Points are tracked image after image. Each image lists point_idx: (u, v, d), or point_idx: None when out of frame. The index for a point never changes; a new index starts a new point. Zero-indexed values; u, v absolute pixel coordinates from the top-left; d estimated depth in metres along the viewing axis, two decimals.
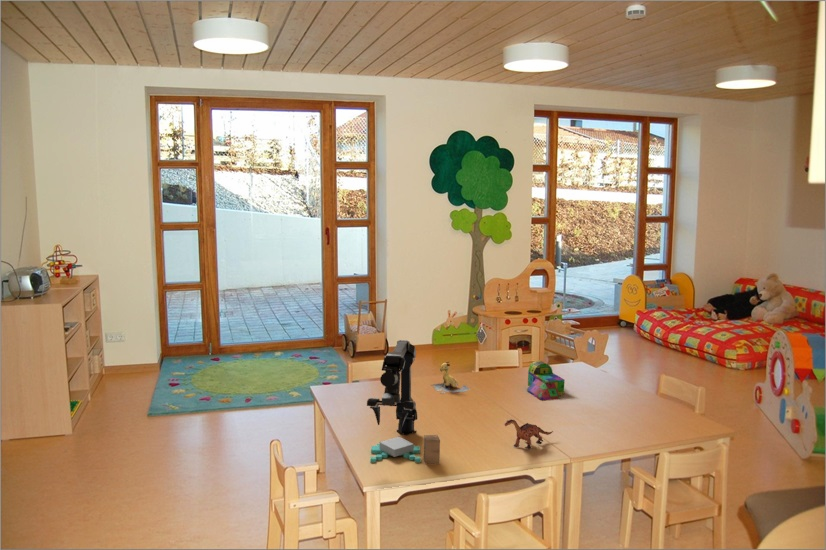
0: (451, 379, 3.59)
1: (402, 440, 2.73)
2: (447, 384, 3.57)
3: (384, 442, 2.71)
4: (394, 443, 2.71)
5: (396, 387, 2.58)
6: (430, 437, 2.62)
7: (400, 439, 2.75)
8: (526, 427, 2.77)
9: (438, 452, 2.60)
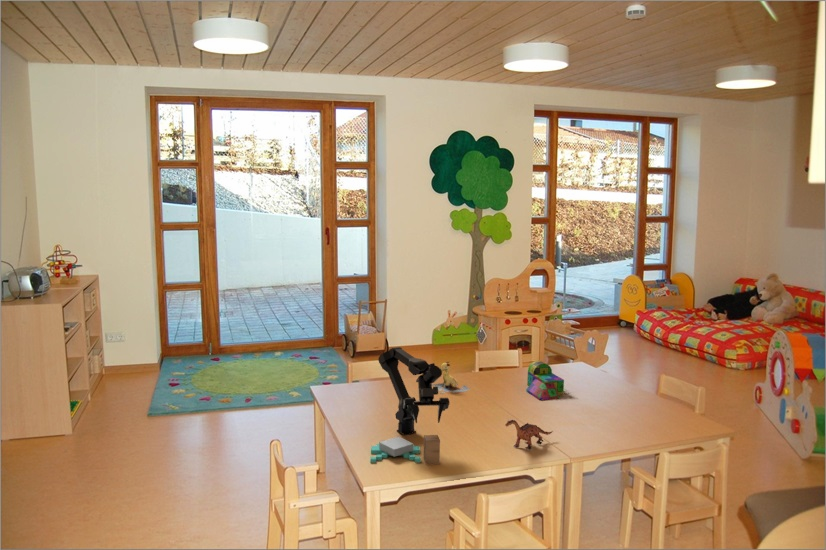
0: (451, 379, 3.59)
1: (402, 440, 2.73)
2: (447, 384, 3.58)
3: (384, 442, 2.71)
4: (394, 442, 2.70)
5: (430, 386, 2.77)
6: (430, 437, 2.62)
7: (400, 439, 2.74)
8: (526, 427, 2.77)
9: (438, 452, 2.60)
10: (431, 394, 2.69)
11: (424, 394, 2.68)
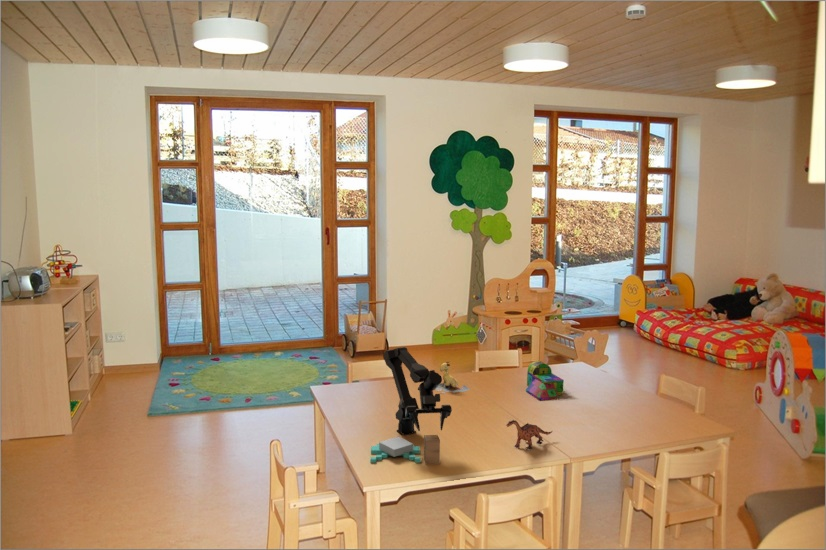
0: (451, 379, 3.59)
1: (402, 440, 2.73)
2: (447, 384, 3.58)
3: (384, 442, 2.71)
4: (394, 443, 2.70)
5: (432, 394, 2.74)
6: (430, 437, 2.62)
7: (400, 439, 2.74)
8: (527, 427, 2.77)
9: (438, 452, 2.60)
10: (433, 401, 2.66)
11: (426, 401, 2.66)
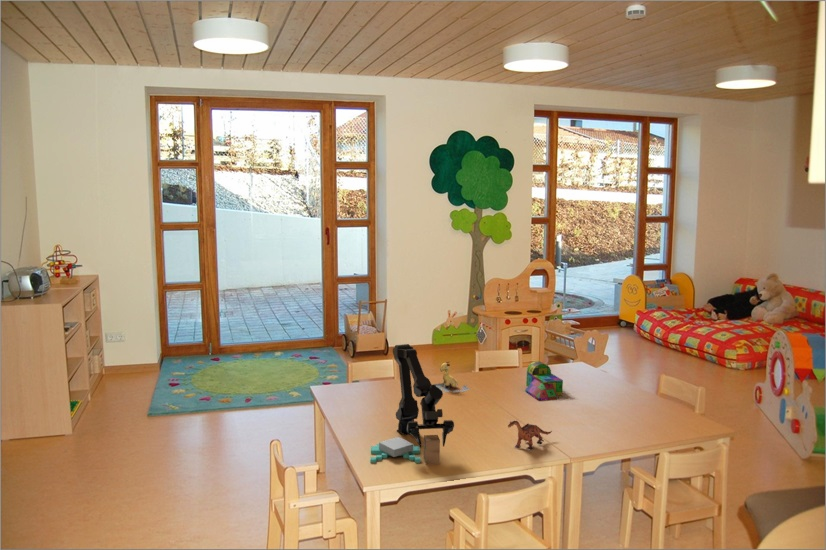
0: (451, 379, 3.59)
1: (402, 440, 2.73)
2: (447, 384, 3.58)
3: (384, 442, 2.71)
4: (394, 443, 2.70)
5: (434, 409, 2.69)
6: (430, 437, 2.62)
7: (400, 439, 2.74)
8: (528, 428, 2.77)
9: (438, 452, 2.60)
10: (435, 417, 2.61)
11: (428, 417, 2.60)
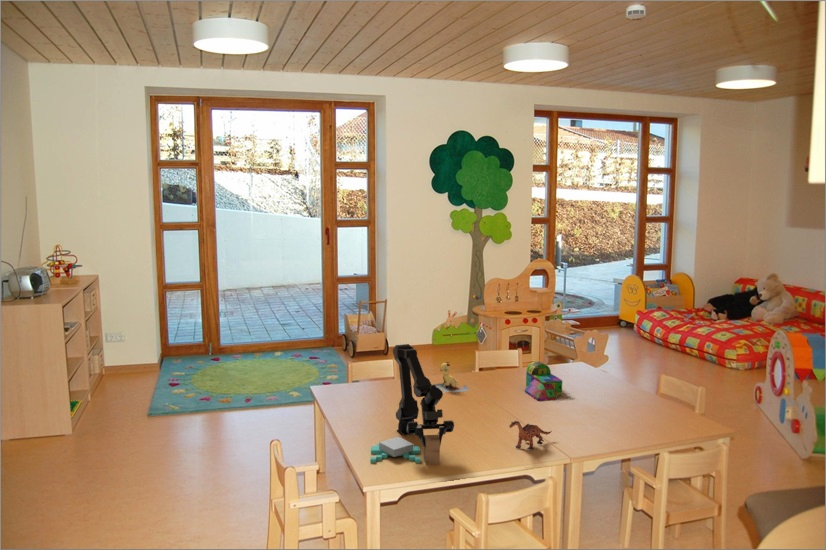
0: (451, 379, 3.59)
1: (402, 440, 2.73)
2: (447, 384, 3.58)
3: (384, 442, 2.71)
4: (394, 443, 2.70)
5: (434, 409, 2.69)
6: (430, 437, 2.62)
7: (400, 439, 2.74)
8: (528, 428, 2.77)
9: (438, 452, 2.60)
10: (435, 417, 2.61)
11: (428, 417, 2.60)
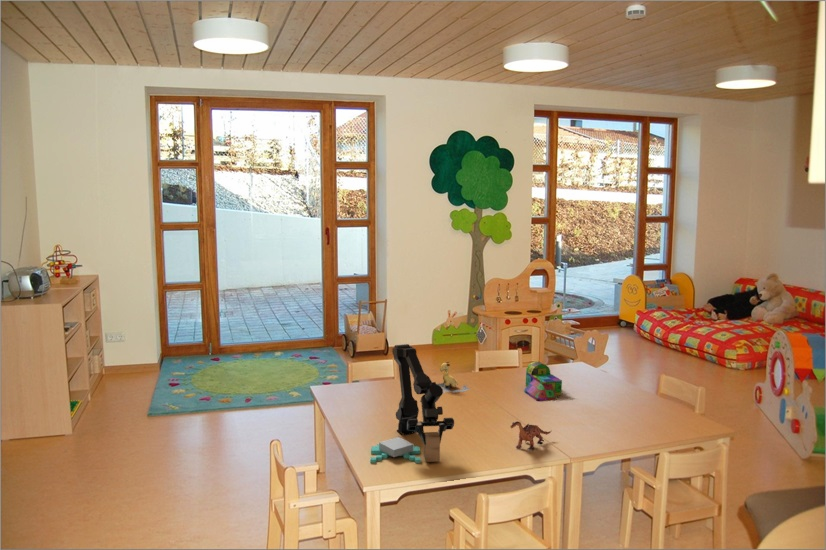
0: (451, 379, 3.59)
1: (402, 440, 2.73)
2: (447, 384, 3.58)
3: (384, 442, 2.71)
4: (394, 443, 2.70)
5: (434, 406, 2.69)
6: (431, 435, 2.62)
7: (400, 439, 2.74)
8: (529, 428, 2.76)
9: (438, 449, 2.60)
10: (435, 414, 2.60)
11: (428, 415, 2.60)
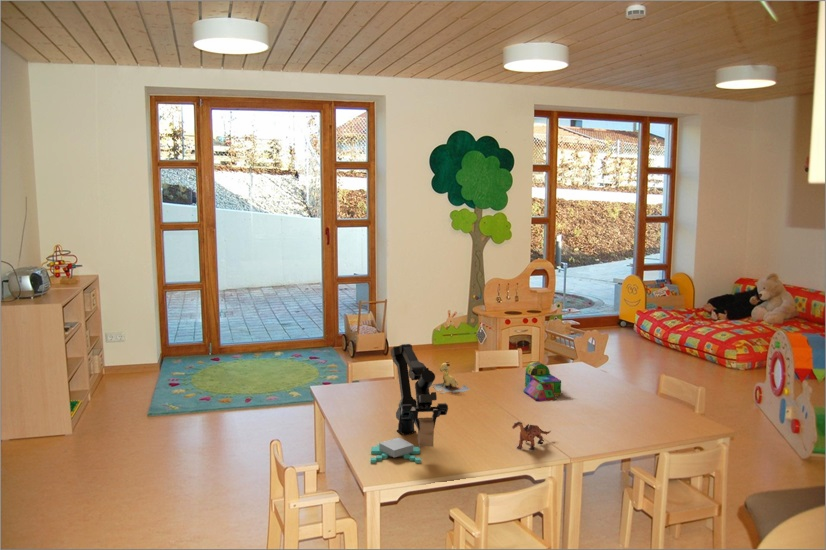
0: (451, 379, 3.59)
1: (402, 441, 2.73)
2: (447, 384, 3.58)
3: (384, 443, 2.70)
4: (394, 443, 2.70)
5: (428, 392, 2.70)
6: (424, 420, 2.62)
7: (400, 440, 2.74)
8: (529, 428, 2.76)
9: (432, 434, 2.61)
10: (429, 400, 2.61)
11: (422, 400, 2.61)
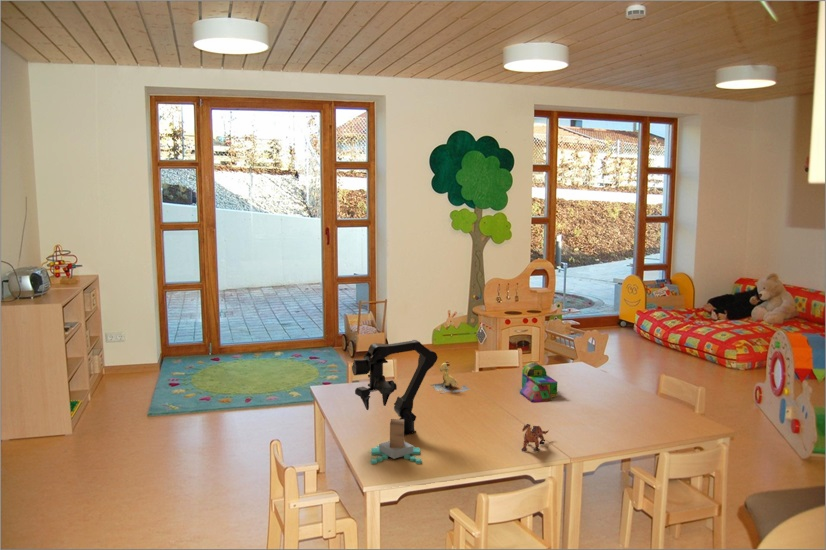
0: (451, 379, 3.59)
1: None
2: (447, 384, 3.58)
3: (384, 444, 2.70)
4: None
5: (382, 374, 2.85)
6: (396, 421, 2.68)
7: None
8: (534, 429, 2.75)
9: (402, 436, 2.66)
10: (389, 391, 2.81)
11: (383, 392, 2.79)
